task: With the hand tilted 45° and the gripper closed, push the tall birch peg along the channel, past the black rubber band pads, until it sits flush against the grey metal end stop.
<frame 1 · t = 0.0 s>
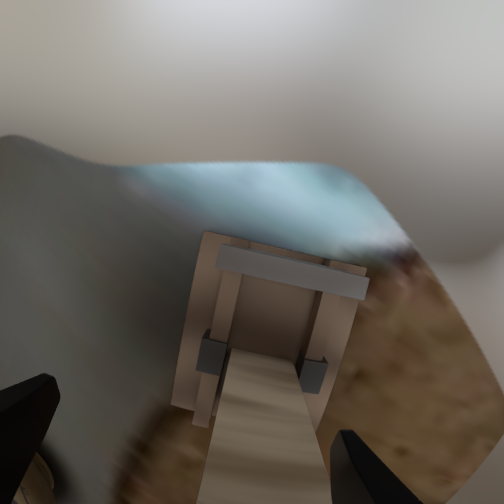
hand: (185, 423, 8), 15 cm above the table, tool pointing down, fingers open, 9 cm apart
birch peg: (255, 437, 14), point 9 cm above the table, slide at 0.0 cm
peg housing: (264, 338, 23), on the table
decorative pitcher: (26, 460, 25), on the table
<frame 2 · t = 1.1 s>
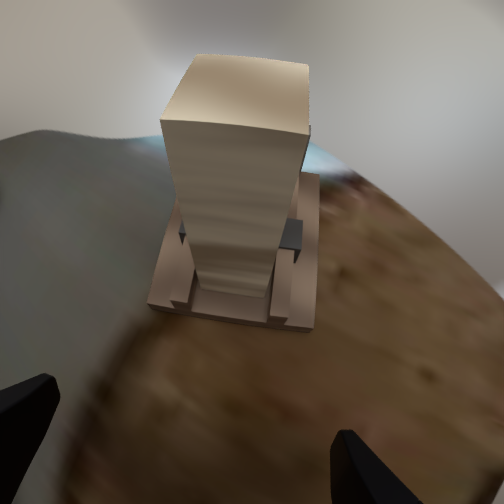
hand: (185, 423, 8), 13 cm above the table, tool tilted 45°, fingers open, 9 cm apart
birch peg: (238, 206, 16), point 9 cm above the table, slide at 0.0 cm
peg housing: (242, 239, 26), on the table
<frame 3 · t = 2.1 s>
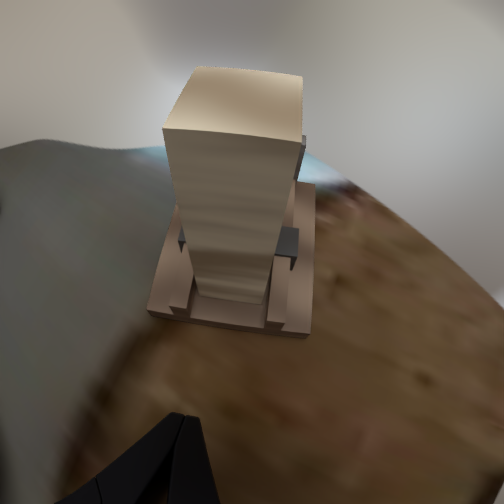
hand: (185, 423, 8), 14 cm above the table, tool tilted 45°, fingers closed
birch peg: (236, 213, 17), point 9 cm above the table, slide at 0.0 cm
peg housing: (239, 247, 26), on the table
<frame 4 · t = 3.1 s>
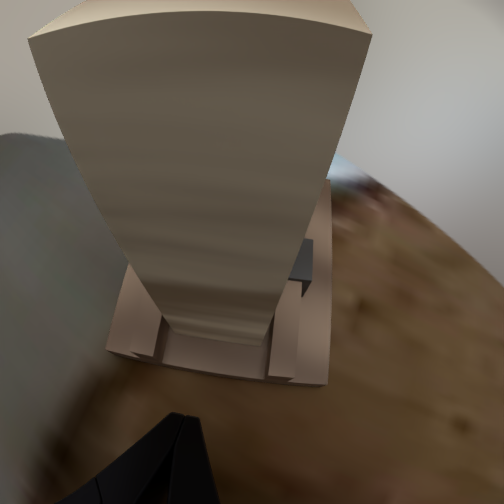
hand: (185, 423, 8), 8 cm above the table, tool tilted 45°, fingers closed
birch peg: (218, 221, 10), point 9 cm above the table, slide at 0.0 cm
peg housing: (231, 264, 20), on the table
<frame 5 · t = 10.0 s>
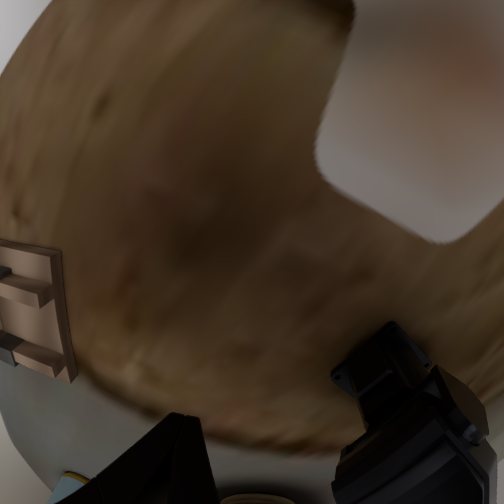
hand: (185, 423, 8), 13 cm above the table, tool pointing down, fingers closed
bottle: (84, 483, 31), on the table
peg housing: (13, 302, 22), on the table
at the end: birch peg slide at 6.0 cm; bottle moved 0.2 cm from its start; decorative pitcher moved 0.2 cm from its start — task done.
